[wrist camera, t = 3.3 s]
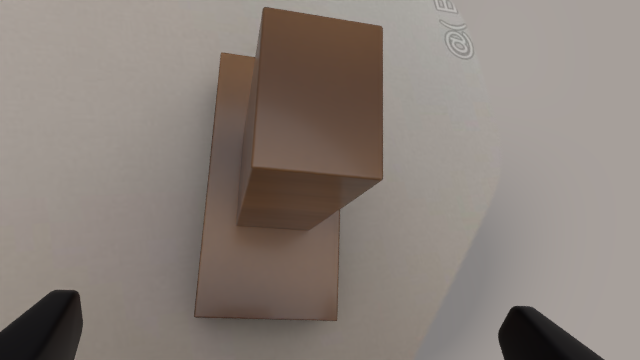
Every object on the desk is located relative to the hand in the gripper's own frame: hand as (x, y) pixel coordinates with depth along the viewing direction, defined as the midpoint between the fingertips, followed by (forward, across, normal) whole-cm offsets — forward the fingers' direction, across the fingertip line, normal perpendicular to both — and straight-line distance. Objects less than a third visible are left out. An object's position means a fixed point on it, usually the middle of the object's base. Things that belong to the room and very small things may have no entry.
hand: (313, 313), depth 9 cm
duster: (+12, 0, +5) cm, 13 cm away
